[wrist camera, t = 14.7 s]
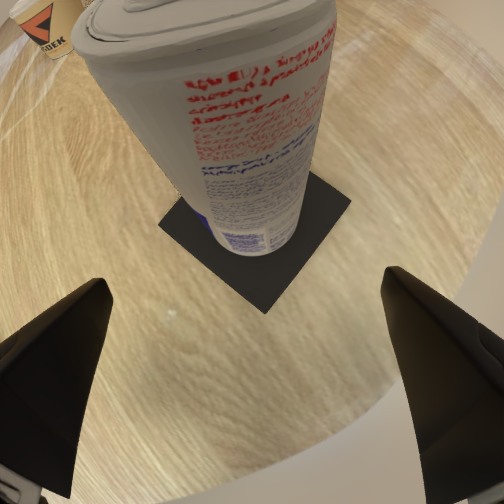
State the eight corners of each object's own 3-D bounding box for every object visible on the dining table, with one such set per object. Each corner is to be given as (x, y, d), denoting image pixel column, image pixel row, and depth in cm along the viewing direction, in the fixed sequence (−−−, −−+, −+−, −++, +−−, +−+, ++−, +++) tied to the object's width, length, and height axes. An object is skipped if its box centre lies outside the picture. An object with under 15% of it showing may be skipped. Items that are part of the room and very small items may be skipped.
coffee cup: (36, 68, 26) (-4, 22, 15) (67, 29, 28) (37, -16, 16) (75, 56, 25) (34, -3, 14) (109, 16, 27) (79, -39, 15)
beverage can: (309, 188, 18) (356, -47, 4) (281, 271, 17) (305, 65, 3) (228, 164, 19) (159, -52, 4) (195, 240, 18) (21, 64, 3)
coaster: (349, 203, 18) (351, 200, 18) (265, 314, 17) (264, 314, 17) (244, 133, 20) (243, 129, 19) (160, 227, 19) (157, 224, 18)
